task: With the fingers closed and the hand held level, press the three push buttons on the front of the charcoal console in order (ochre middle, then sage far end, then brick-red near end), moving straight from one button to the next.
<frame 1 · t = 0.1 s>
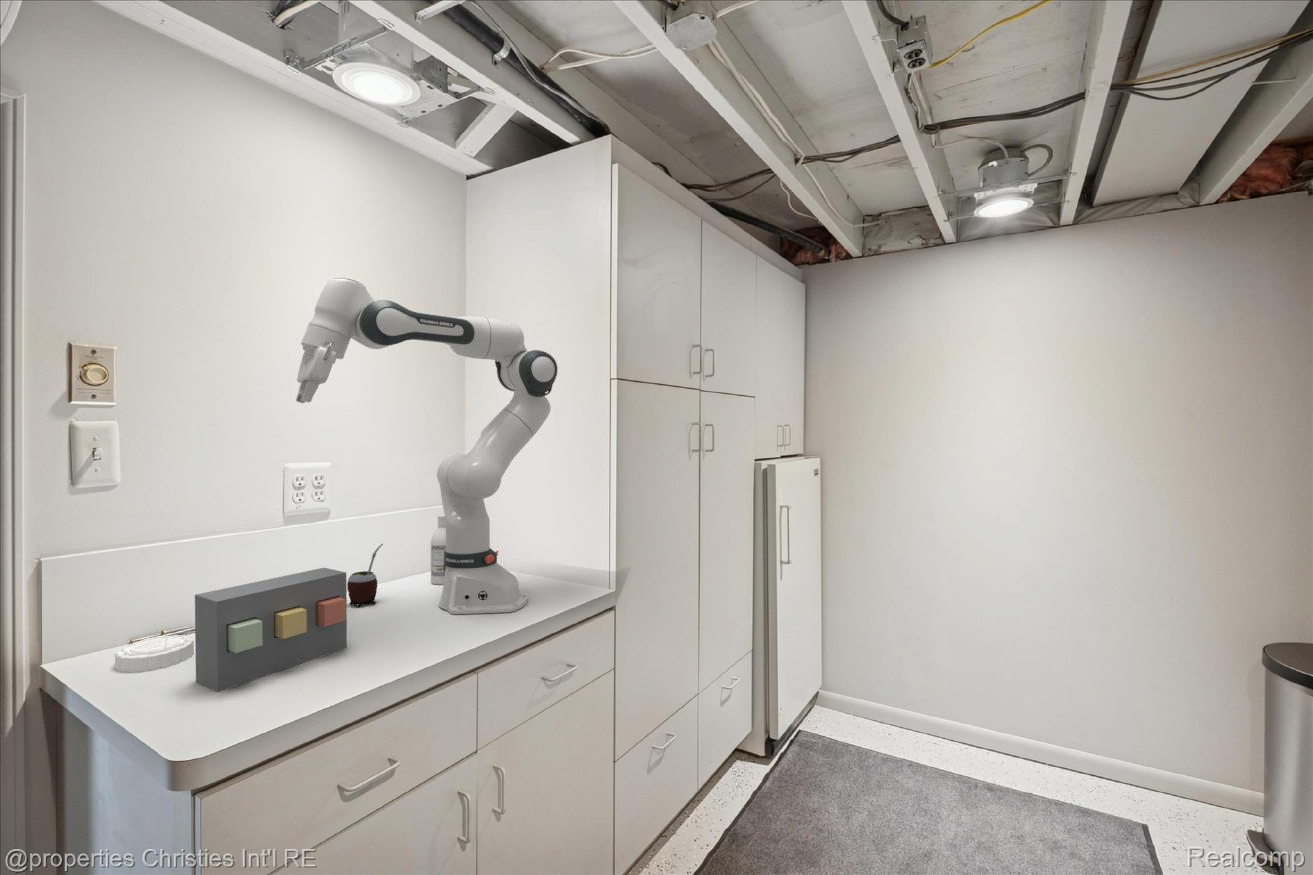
hand: (302, 402, 134), 52 cm above the counter, tool tilted 20°, fingers open, 8 cm apart
button ochre: (290, 622, 115), point 9 cm above the counter, slide at 0.0 cm
button sage: (244, 635, 108), point 9 cm above the counter, slide at 0.0 cm
button brick: (330, 611, 122), point 9 cm above the counter, slide at 0.0 cm
supplement bottle 2: (229, 647, 127), on the counter
mooncake: (155, 662, 119), on the counter
console: (276, 663, 118), on the counter
bath foam: (443, 582, 178), on the counter
mate gourd: (364, 604, 157), on the counter
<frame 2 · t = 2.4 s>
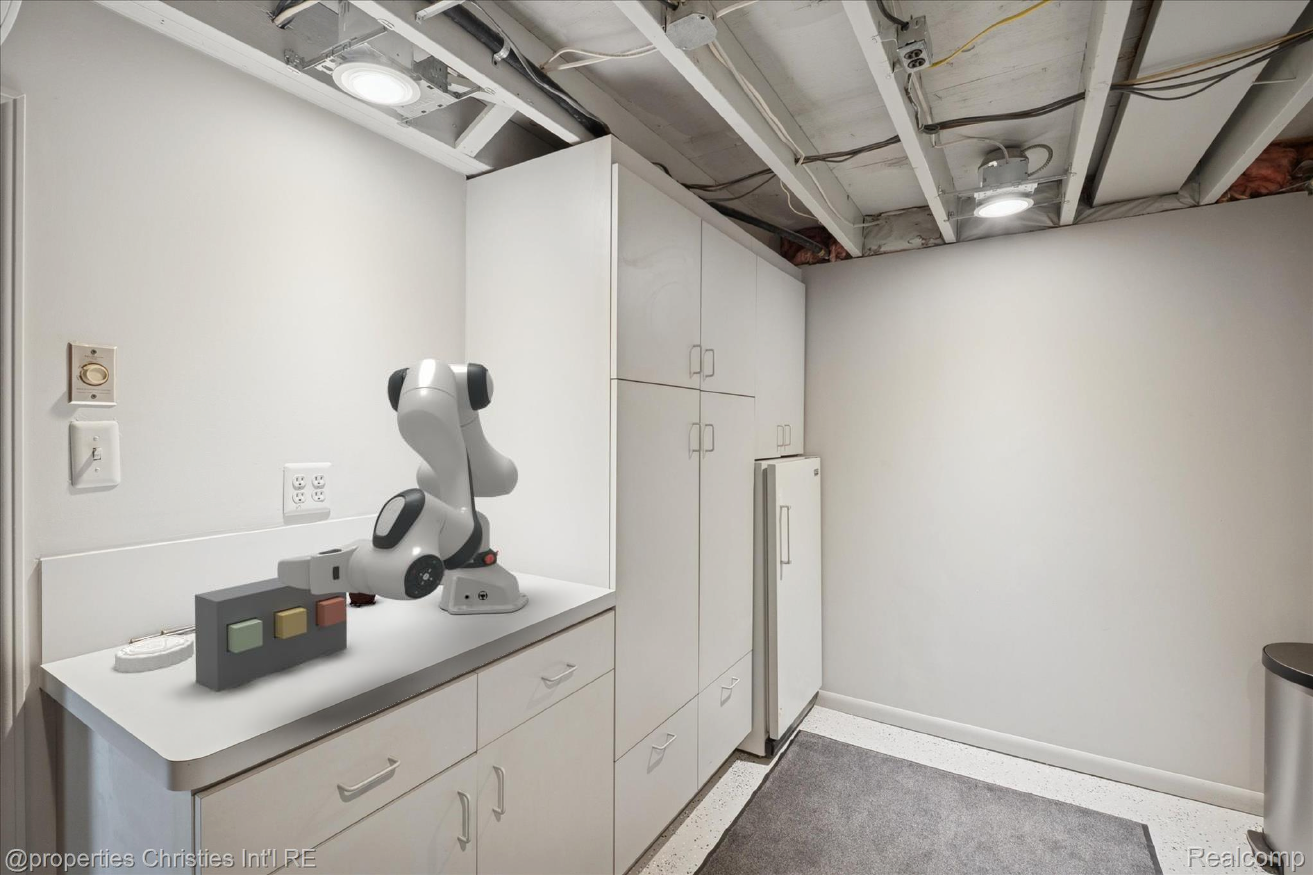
hand: (320, 557, 110), 23 cm above the counter, tool horizontal, fingers open, 8 cm apart
nothing on the counter moved.
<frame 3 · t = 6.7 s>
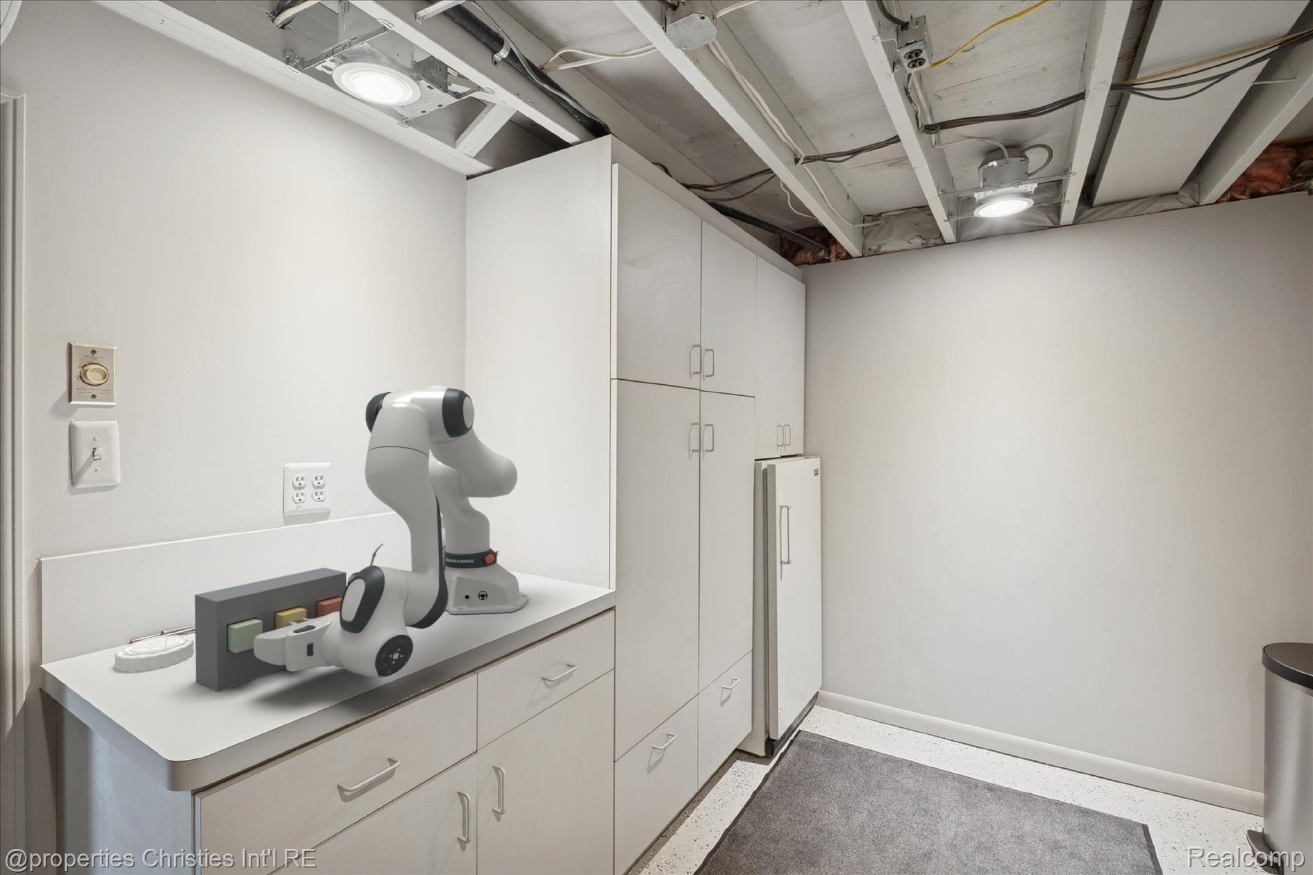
hand: (295, 624, 115), 9 cm above the counter, tool horizontal, fingers closed, pressing on button ochre
button ochre: (290, 622, 115), point 9 cm above the counter, slide at 0.0 cm, touching gripper
everything else where it was.
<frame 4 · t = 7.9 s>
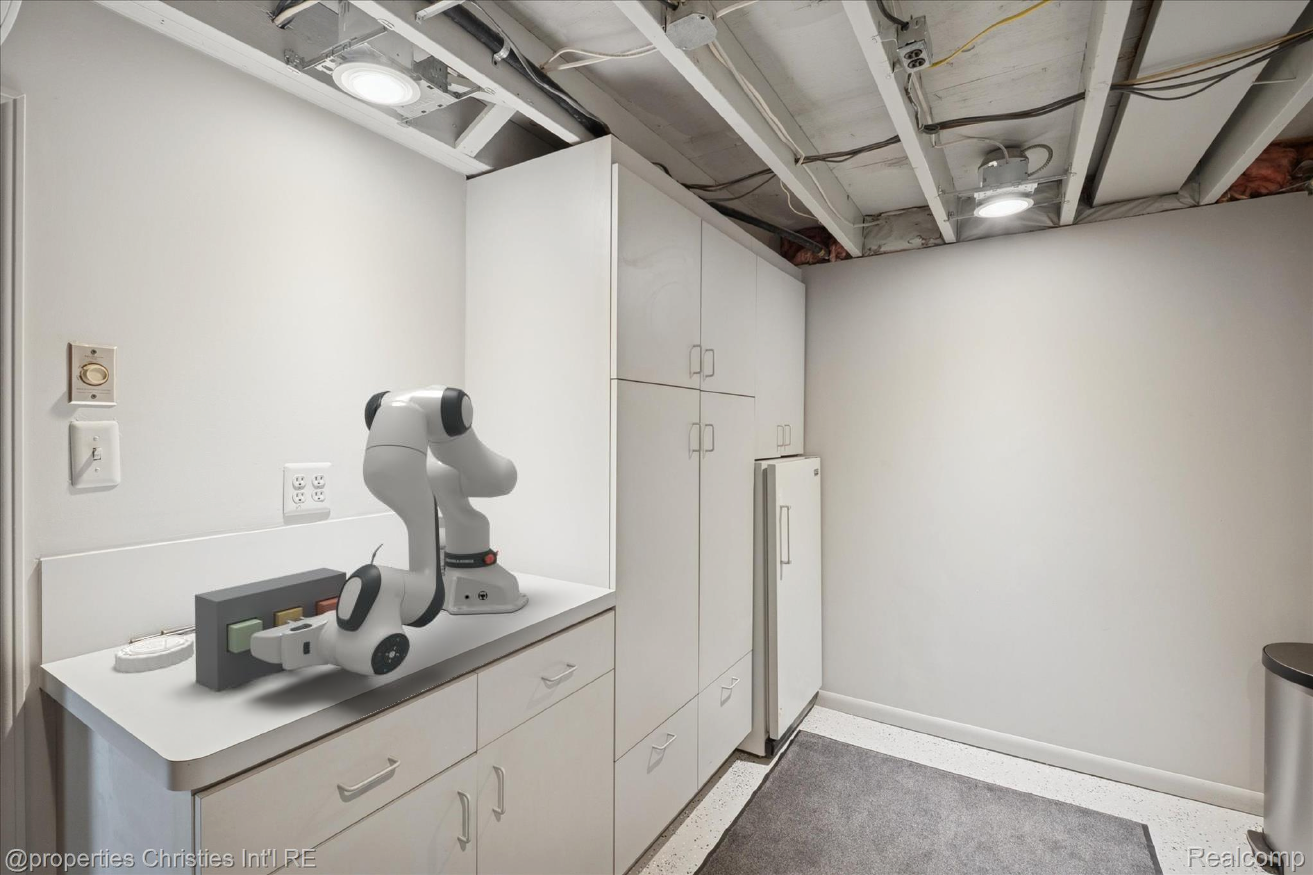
hand: (292, 623, 115), 9 cm above the counter, tool horizontal, fingers closed
button ochre: (286, 621, 116), point 9 cm above the counter, slide at 1.4 cm
everything else where it was.
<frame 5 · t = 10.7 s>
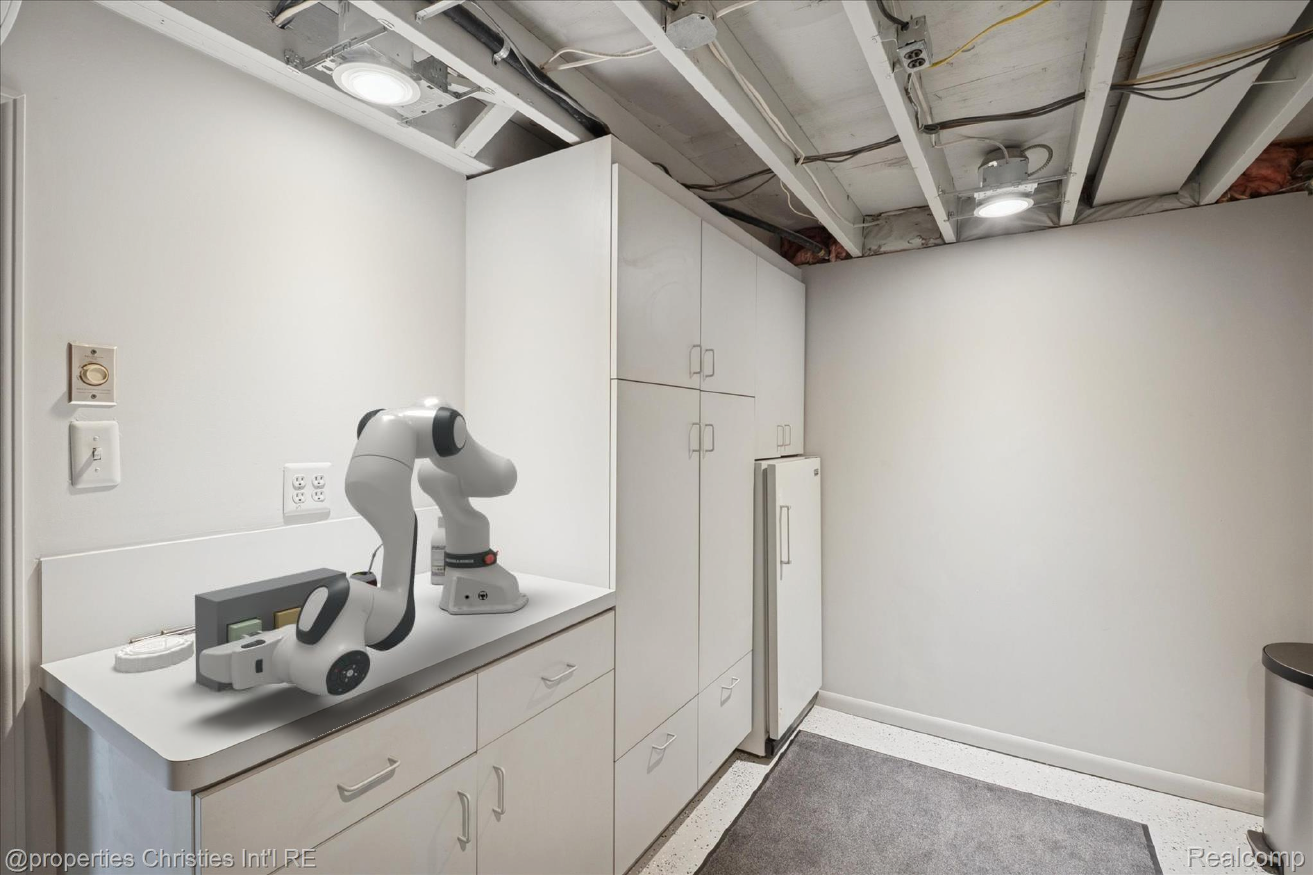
hand: (249, 637, 108), 9 cm above the counter, tool horizontal, fingers closed, pressing on button sage
button sage: (244, 635, 108), point 9 cm above the counter, slide at 0.2 cm, touching gripper
everything else where it was.
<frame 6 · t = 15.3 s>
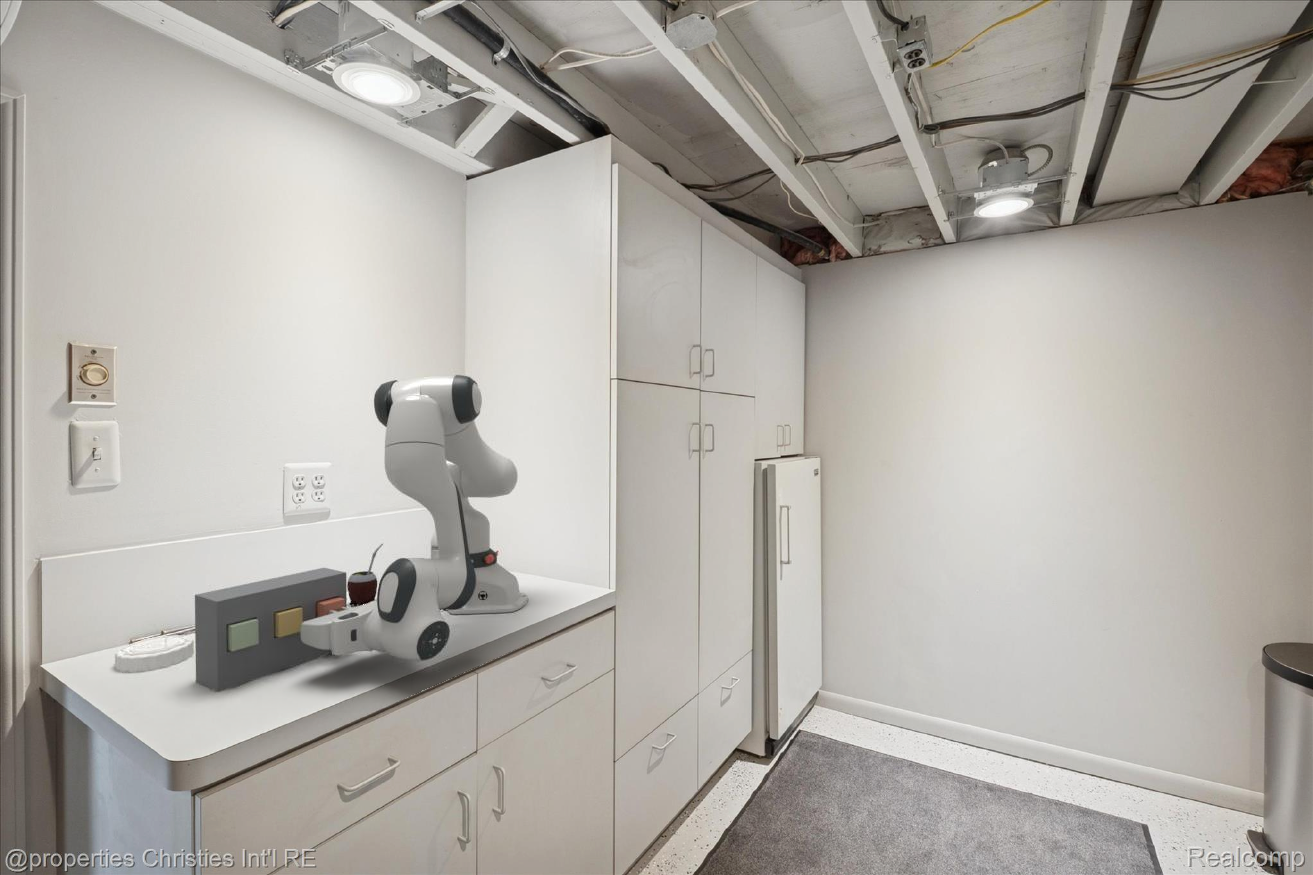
hand: (335, 612, 122), 9 cm above the counter, tool horizontal, fingers closed, pressing on button brick
button sage: (241, 633, 109), point 9 cm above the counter, slide at 1.4 cm
button brick: (330, 611, 122), point 9 cm above the counter, slide at 0.2 cm, touching gripper
everything else where it was.
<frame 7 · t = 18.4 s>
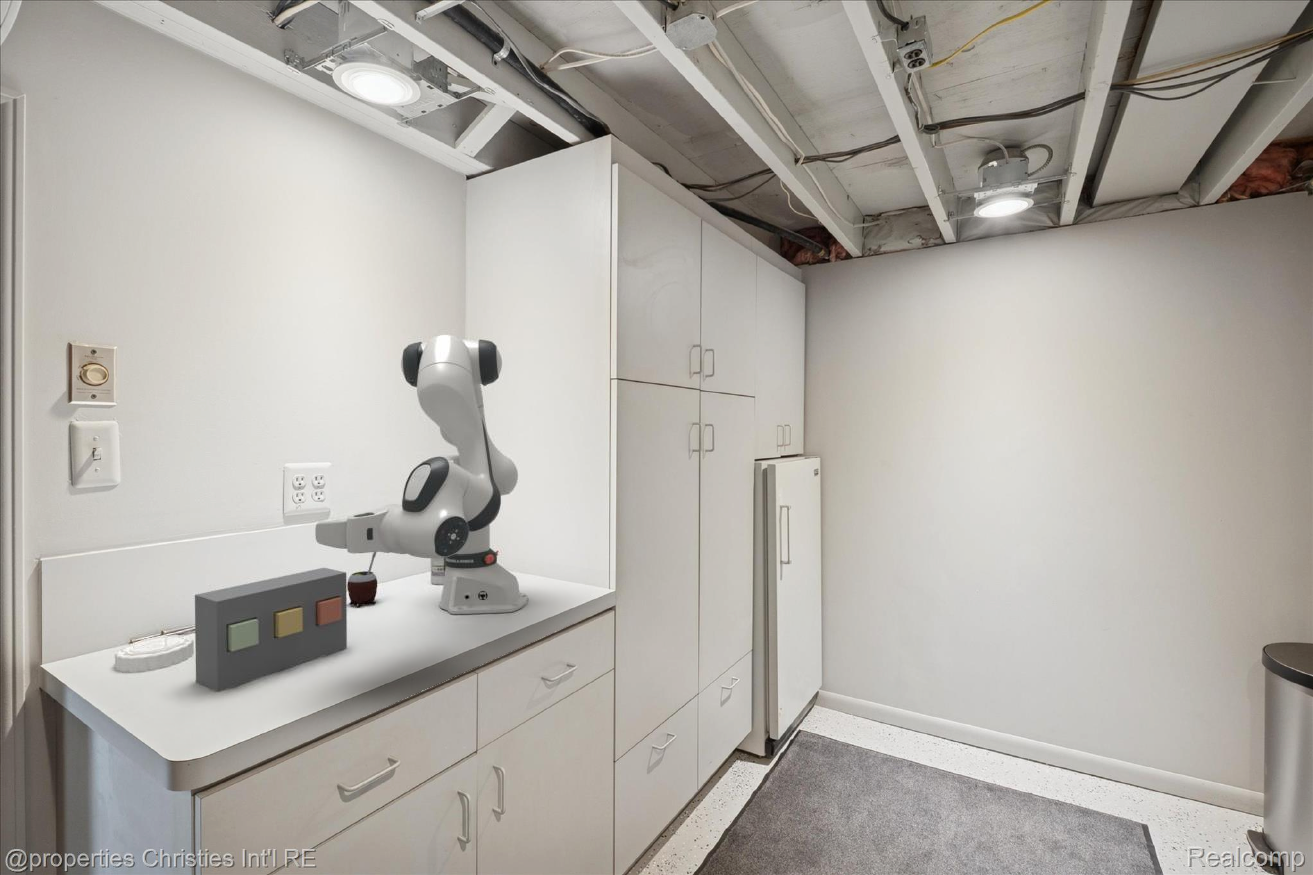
hand: (350, 522, 118), 28 cm above the counter, tool horizontal, fingers closed
button brick: (326, 610, 123), point 9 cm above the counter, slide at 1.4 cm
everything else where it was.
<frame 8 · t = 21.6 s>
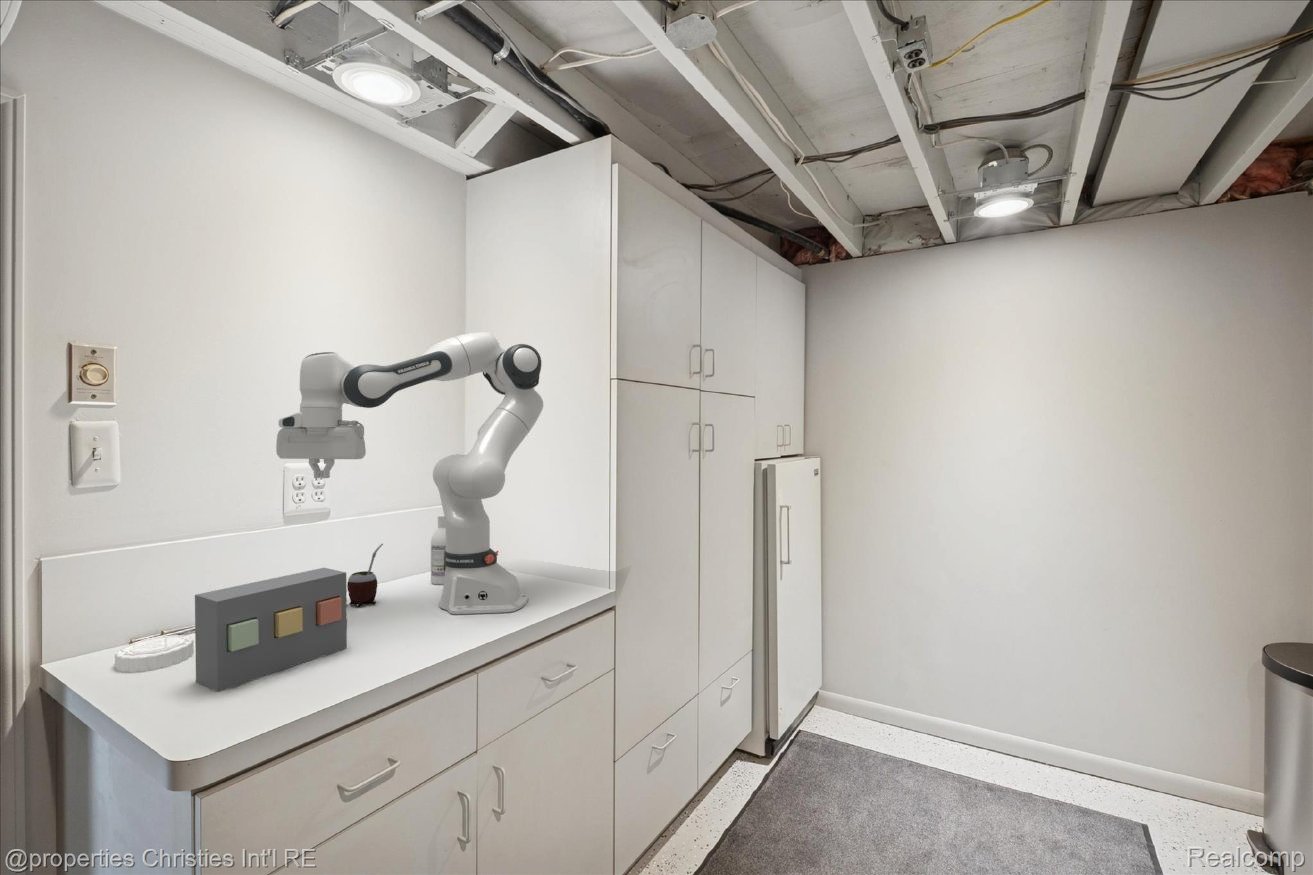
hand: (321, 478, 143), 34 cm above the counter, tool pointing down, fingers closed
nothing on the counter moved.
at the end: button ochre slide at 1.4 cm; button sage slide at 1.4 cm; button brick slide at 1.4 cm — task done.
